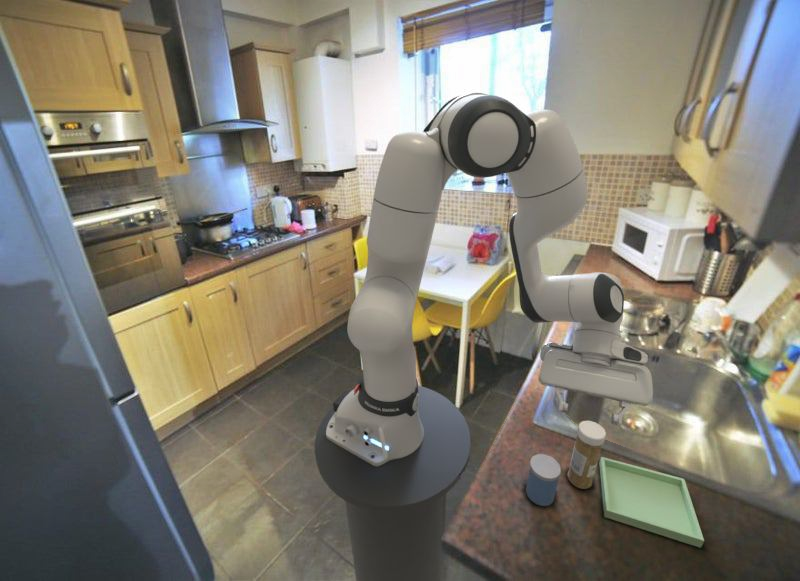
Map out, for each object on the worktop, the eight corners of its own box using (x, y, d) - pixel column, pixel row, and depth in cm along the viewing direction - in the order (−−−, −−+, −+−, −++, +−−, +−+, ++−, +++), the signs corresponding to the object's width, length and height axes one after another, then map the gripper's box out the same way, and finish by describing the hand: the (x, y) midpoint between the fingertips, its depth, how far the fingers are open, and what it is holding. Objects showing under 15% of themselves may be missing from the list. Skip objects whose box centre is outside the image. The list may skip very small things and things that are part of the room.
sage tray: (604, 517, 65) (606, 510, 64) (599, 463, 75) (601, 456, 75) (700, 548, 60) (704, 540, 59) (681, 485, 70) (684, 478, 69)
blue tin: (524, 501, 68) (529, 472, 65) (526, 478, 73) (531, 450, 69) (554, 510, 66) (560, 482, 63) (554, 486, 71) (561, 458, 68)
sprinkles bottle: (595, 490, 70) (610, 439, 64) (571, 489, 70) (583, 437, 65) (586, 470, 74) (600, 419, 68) (563, 468, 74) (575, 418, 69)
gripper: (542, 336, 76) (533, 403, 72) (657, 356, 69) (654, 432, 65) (541, 343, 82) (532, 406, 78) (647, 362, 75) (643, 432, 71)
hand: (589, 418), depth 71 cm, fingers open, 8 cm apart
